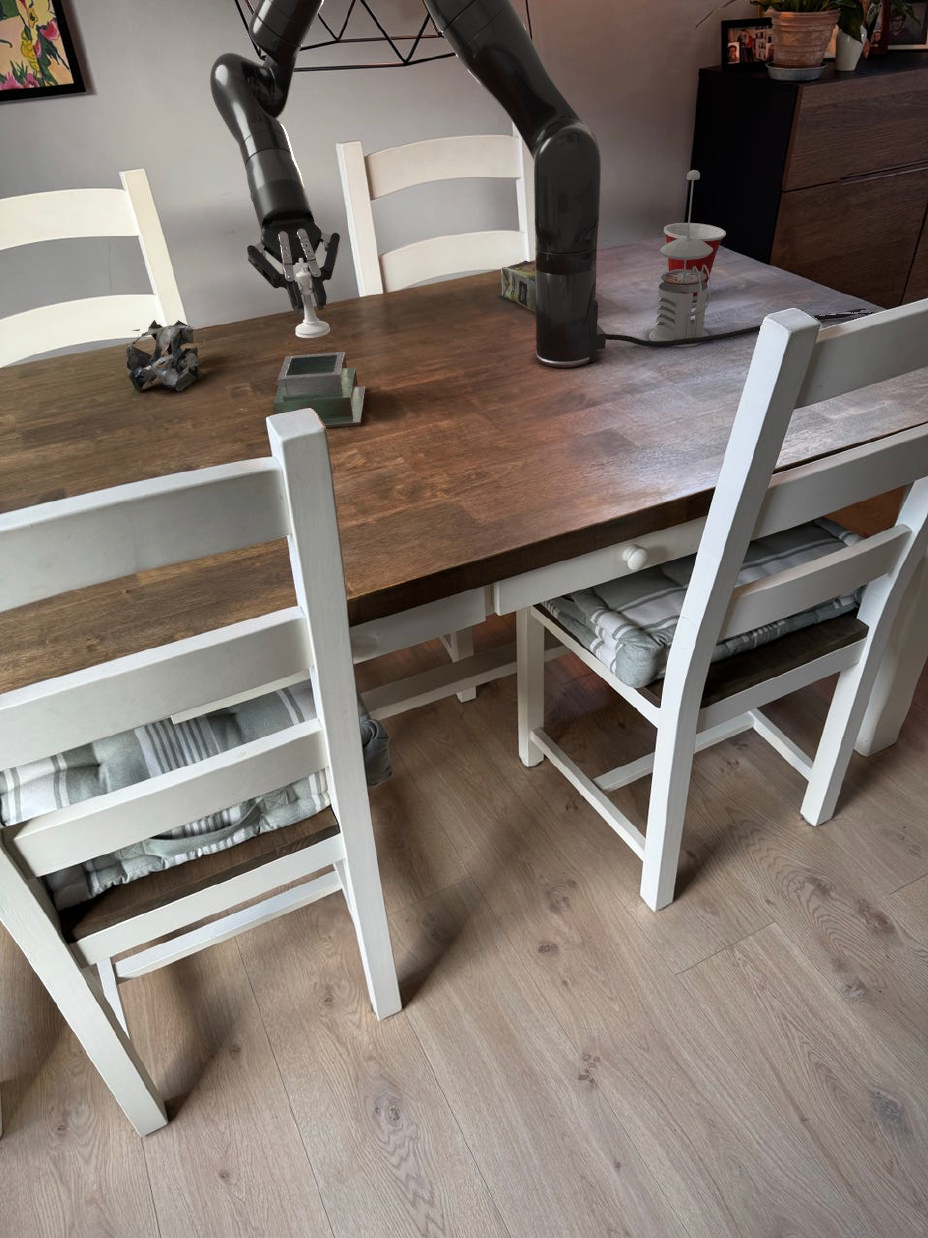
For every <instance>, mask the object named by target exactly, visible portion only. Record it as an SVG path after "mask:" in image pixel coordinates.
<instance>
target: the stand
mask: <svg viewBox="0 0 928 1238" xmlns="http://www.w3.org/2000/svg"><path fill="white" fill-rule="evenodd" d="M357 377H358V376H357V370H356V367H348V365H347V359H346V352H345V351H336V352H323V353H310V354H309V353H308V354H297V355H295V354H294V355H286V356H285V358H284V361H283V364H282V366H281V369H280V371H279V375H278V378H277V381H278V388H277V390H276V394H275V396H274V399H273V402H272V404H273V409H274V415H275V414H277V413H284V412H289V411H295V410H298V409H303V408H312V409H314V410H315V411H316V413H318V415H319V416H320V418H321V420H322V421H323V423H324V424H325V426H326V428H325V429H332V428H344V427H345V428H346V427H360V426H361V425H362V418H363V412H364V404H365V398H366V386H365V385H362V386H359V384H358V378H357Z"/></svg>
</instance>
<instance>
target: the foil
mask: <svg viewBox="0 0 928 1238" xmlns="http://www.w3.org/2000/svg"><path fill="white" fill-rule="evenodd" d="M194 330H195V328H194V327H192V326H190V325H188V324H187V323H184V322H182V321H181V320H179V319H177V321H176V322H175V323H174V324H173V325H171V324H170V325H166V326H163V325H162V324H161V323H157V321H156V320H155V319H153V320H152V322H151V323H150V324H149V326H148V327H147V331H146V332H145V331H144V332H143V333H141V335H139V333H138V334H137V339H136V340H133V342H131V343H129V344H128V346H127V347H125V351H126V357H127V360H126V372H127V375H128V379H129V380H130V382H131V384H132V386H133V389H134V390H136V391H137V392H139V393H142V391H143V387H144V386H145V384H149V385H154V383H153V382H154V381H155V380H156V379H157V378H158V379H159V380H161V381H162V385H164V386H166V387H167V388H168V389H169V390H173V391H174V390H175V391H177V392H181V391H183V390H184V389H185V388H186V387H188V386H189V385H191V384H192V383H194V382H195V381H198V380H199V379H200V378H201V376H202V375H203V373H202V371H201V369H200V366H199V365H200V364H202V363H203V362H204V360H201V361H200V360H199V354H198V353H199V348H198V346H195V347H185V348H184V349H183V348H182V346H183V345H186V344H194ZM131 331H132V332H140V331H141V329H140V328H139V329H131ZM148 336H151V337H152V338H153V340H154V341H155V348H154V350H153V353H152V354H150V353H148V352H145V351H144V350H141V349H140V348H137V347H136V346H133V345H136V343H138V342H139V341H140V339H141V338H144V337H148ZM166 353H167V354H168V355H167V356H165V354H166ZM167 360H168V362H167V363H166V361H167ZM198 360H199V361H198ZM165 363H166V365H164V364H165ZM162 365H164V366H163V367H159V366H162Z"/></svg>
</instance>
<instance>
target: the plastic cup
mask: <svg viewBox="0 0 928 1238" xmlns="http://www.w3.org/2000/svg"><path fill="white" fill-rule="evenodd" d="M687 231H688V222H677V223H671V224H667V225H665V226H663V233H664V234H665V241H666V244H668V243H670V242H672V241H674V240H677V239H683V238H687ZM726 236H727V233H726V230H724V229H722V228H721V227H717V226H714V225H711V224H704V223H697V222H696V223H695V222H690V226H689V238H693V239H699V240H701V241H703V242H705V243H706V244H707V245H709V246H710V247H712V248H713V252H712V253H711V254H710V255H708V256H707V257H704V258H700V259H693V260H686V269H687V270H688V269H689V270H690V269H691V270H693V267H694V266H696V268H697V270H698V271H700V272H701V270H702V266H703V265H706V267H707V269H708V271H709V275H710V276H711V273H712V269H713V266H714V263H715V258H716V256H717V252H718V250H719V247H720V245H721V242H722V241H723V239H724V238H725V237H726ZM667 263H668V264H667V265H668V272H669V271H672V270H676V271H677V270H678V269H679V270H680V269H681V270H682V269H683V270H684V263H685V260H677V259H670V258H667ZM694 270H695V268H694ZM695 271H696V270H695ZM703 272H704V274H706V275H707V279H706V280H705V281H703V282H705V283H706V284H707V285H708V283H709V277H708V274H707V270H706V269H705V267H704V269H703ZM702 291H703V290H702ZM698 292H700V291H698ZM698 292H695V293H693V297H695V296H697V293H698ZM682 294H688V293H686V292H682ZM695 302H697V300H695V301H692V303H695Z"/></svg>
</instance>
